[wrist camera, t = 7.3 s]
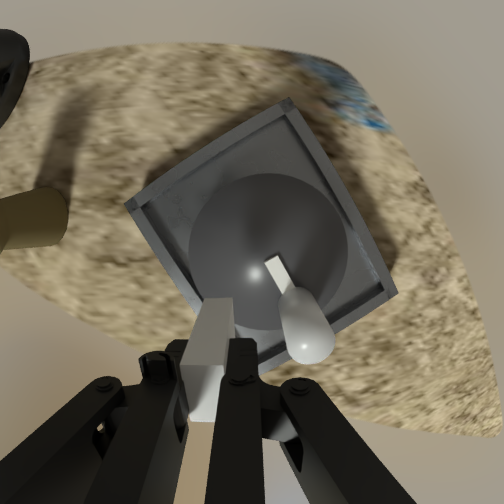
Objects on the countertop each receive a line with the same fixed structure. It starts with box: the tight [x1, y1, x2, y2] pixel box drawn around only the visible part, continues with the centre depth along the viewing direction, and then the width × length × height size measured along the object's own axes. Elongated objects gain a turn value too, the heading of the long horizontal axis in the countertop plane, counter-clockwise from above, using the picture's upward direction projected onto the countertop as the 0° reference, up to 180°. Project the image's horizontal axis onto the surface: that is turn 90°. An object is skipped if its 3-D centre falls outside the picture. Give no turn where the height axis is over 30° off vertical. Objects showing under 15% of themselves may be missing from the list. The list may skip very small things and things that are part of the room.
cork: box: [0, 187, 68, 254], centre depth 20 cm, size 6×6×11 cm
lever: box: [188, 173, 348, 364], centre depth 19 cm, size 11×11×9 cm
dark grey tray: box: [124, 97, 398, 375], centre depth 24 cm, size 18×15×3 cm
